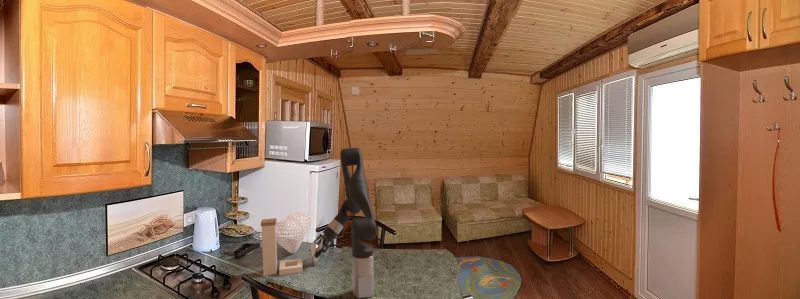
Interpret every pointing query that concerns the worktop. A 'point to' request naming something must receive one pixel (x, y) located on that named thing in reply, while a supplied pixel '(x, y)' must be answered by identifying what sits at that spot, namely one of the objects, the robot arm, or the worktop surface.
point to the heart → (290, 218)
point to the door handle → (244, 250)
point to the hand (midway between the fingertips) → (313, 254)
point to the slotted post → (275, 252)
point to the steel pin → (313, 251)
